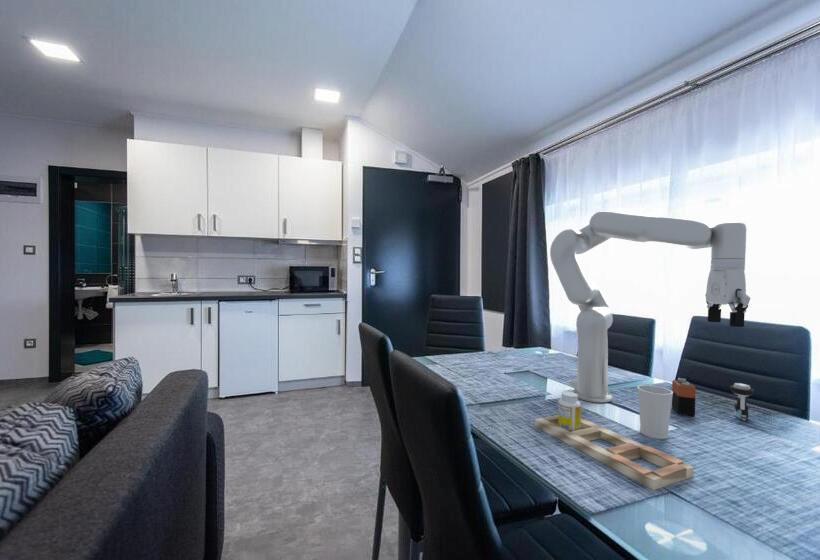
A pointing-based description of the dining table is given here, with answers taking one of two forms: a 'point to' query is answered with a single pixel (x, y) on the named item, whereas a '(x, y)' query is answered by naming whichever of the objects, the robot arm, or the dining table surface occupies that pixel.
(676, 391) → the battery
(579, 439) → the rack
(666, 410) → the cup
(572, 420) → the supplement bottle
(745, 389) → the push button
